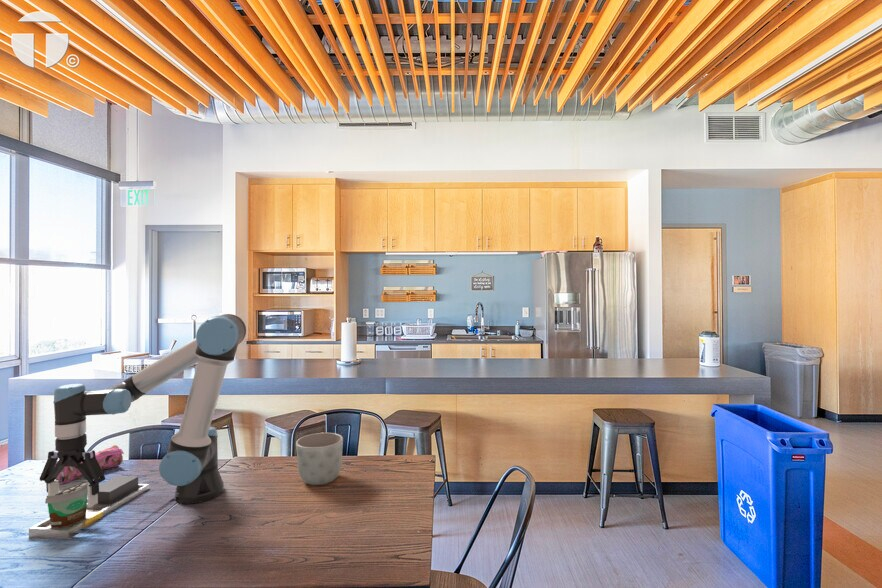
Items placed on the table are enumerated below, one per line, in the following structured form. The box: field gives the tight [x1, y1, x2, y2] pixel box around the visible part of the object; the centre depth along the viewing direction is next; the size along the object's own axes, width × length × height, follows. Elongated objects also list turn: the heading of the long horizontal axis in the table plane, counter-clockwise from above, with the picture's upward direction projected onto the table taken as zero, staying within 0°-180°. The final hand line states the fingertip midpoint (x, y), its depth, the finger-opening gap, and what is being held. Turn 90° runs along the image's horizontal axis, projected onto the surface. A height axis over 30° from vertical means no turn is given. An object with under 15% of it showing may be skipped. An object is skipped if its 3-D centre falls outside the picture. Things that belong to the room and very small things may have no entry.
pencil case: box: [54, 444, 125, 485], centre depth 179 cm, size 21×9×9 cm, turn 149°
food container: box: [44, 479, 90, 527], centre depth 142 cm, size 12×6×10 cm, turn 170°
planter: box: [295, 432, 344, 486], centre depth 171 cm, size 17×17×15 cm
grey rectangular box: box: [97, 475, 139, 504], centre depth 157 cm, size 8×12×5 cm, turn 173°
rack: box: [28, 483, 150, 540], centre depth 149 cm, size 14×31×3 cm, turn 173°
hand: (73, 504), depth 142 cm, fingers open, 13 cm apart
